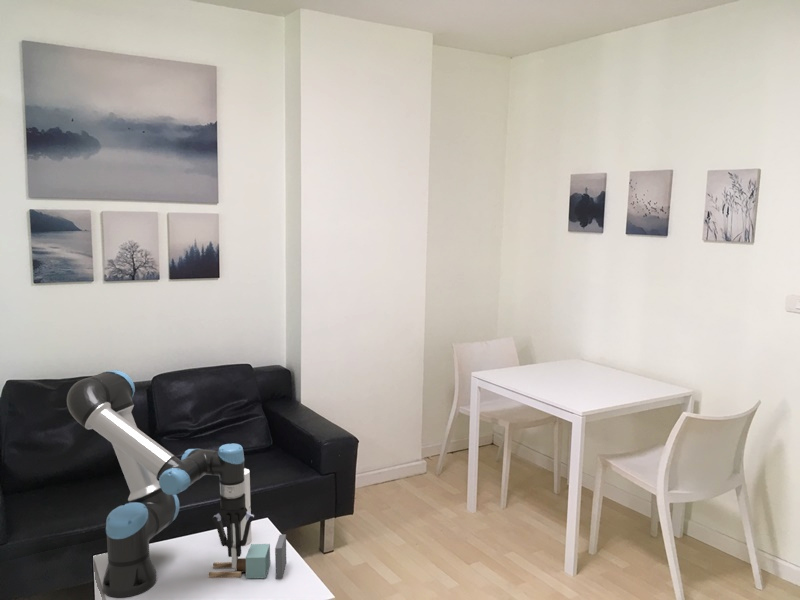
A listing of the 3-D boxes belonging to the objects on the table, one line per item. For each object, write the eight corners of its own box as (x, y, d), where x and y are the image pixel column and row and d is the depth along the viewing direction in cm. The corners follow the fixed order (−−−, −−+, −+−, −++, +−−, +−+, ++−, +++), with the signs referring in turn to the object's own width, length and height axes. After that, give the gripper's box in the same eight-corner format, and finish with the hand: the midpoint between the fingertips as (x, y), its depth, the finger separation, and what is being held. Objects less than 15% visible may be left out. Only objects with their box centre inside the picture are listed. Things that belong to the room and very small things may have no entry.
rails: (208, 577, 200) (208, 573, 200) (213, 566, 207) (213, 562, 207) (240, 577, 201) (240, 572, 201) (245, 566, 207) (245, 562, 207)
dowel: (236, 574, 202) (236, 560, 202) (239, 569, 206) (239, 556, 206) (262, 573, 202) (262, 560, 202) (264, 569, 206) (264, 556, 206)
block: (246, 578, 200) (245, 557, 199) (251, 563, 208) (251, 544, 207) (265, 577, 200) (265, 557, 199) (270, 563, 208) (269, 543, 208)
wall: (275, 579, 200) (275, 548, 199) (280, 563, 209) (279, 534, 208) (282, 578, 200) (281, 548, 199) (286, 563, 209) (285, 534, 208)
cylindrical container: (254, 536, 227) (252, 468, 224) (247, 546, 220) (245, 476, 217) (234, 535, 228) (232, 467, 225) (227, 545, 220) (224, 475, 218)
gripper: (208, 499, 197) (211, 572, 200) (251, 498, 197) (253, 571, 200) (214, 489, 204) (217, 560, 207) (256, 489, 205) (258, 559, 207)
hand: (235, 565), depth 204 cm, fingers closed
